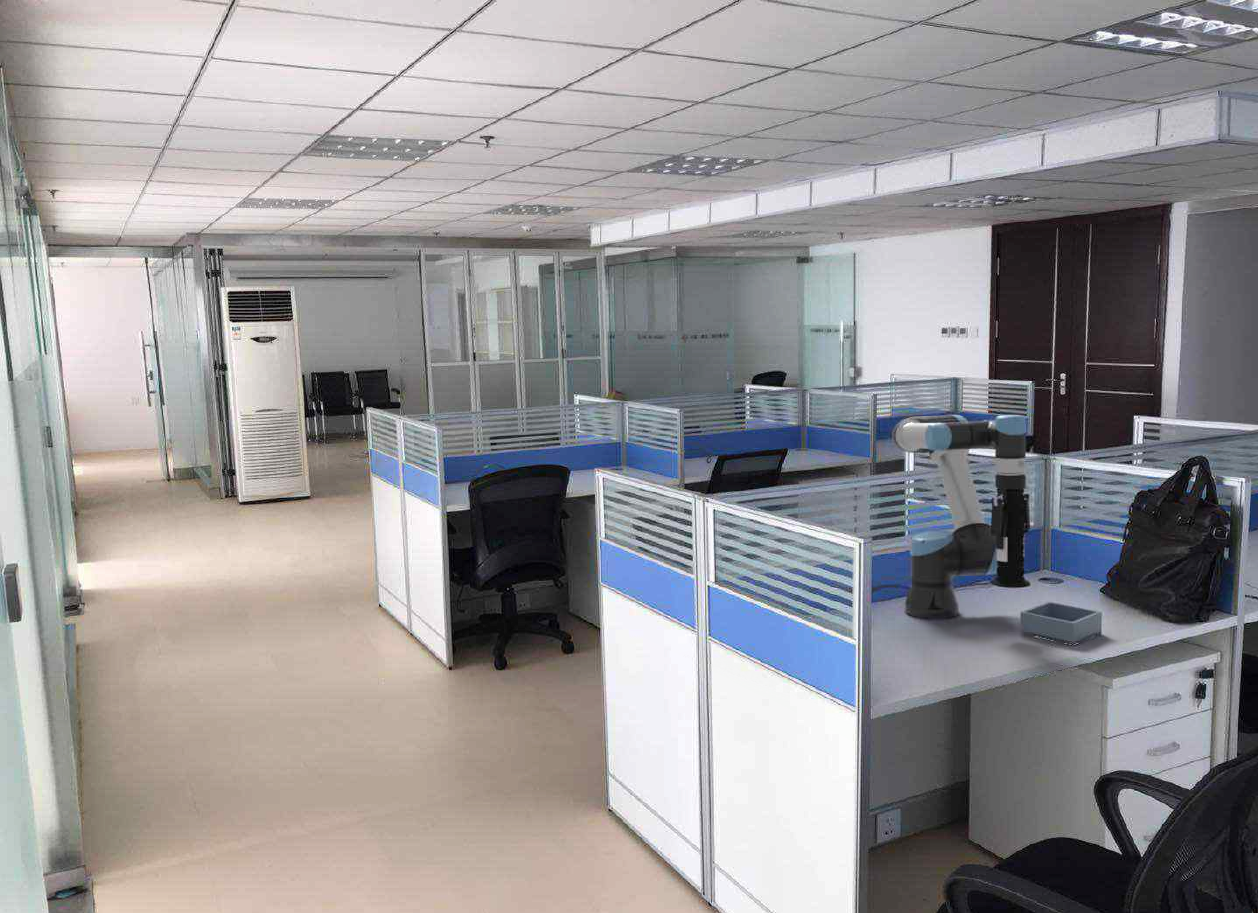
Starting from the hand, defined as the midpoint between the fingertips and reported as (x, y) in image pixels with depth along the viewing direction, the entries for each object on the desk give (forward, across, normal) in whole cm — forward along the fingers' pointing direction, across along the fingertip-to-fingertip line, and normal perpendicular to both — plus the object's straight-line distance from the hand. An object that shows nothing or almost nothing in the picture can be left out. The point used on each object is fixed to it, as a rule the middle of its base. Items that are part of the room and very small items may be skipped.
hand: (1010, 558), depth 259 cm
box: (+20, +9, -9) cm, 24 cm away
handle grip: (+7, 0, 0) cm, 7 cm away
